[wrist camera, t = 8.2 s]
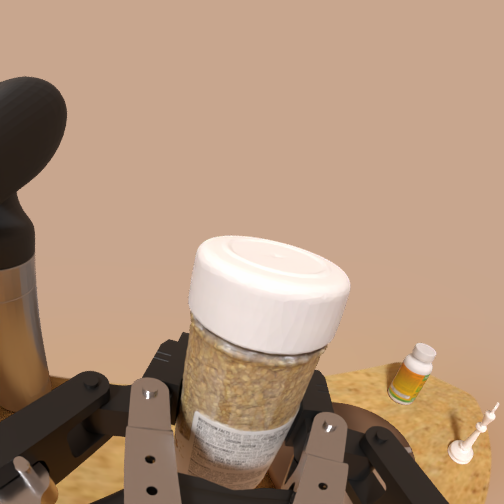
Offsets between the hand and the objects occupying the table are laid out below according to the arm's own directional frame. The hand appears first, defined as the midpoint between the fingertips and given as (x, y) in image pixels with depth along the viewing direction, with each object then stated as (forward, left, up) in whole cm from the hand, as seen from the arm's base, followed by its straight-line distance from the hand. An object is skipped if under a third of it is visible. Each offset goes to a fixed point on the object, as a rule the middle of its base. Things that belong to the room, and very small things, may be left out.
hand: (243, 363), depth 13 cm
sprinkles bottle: (0, -3, -8) cm, 8 cm away
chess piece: (+36, +8, -20) cm, 42 cm away
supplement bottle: (+30, +23, -20) cm, 43 cm away
